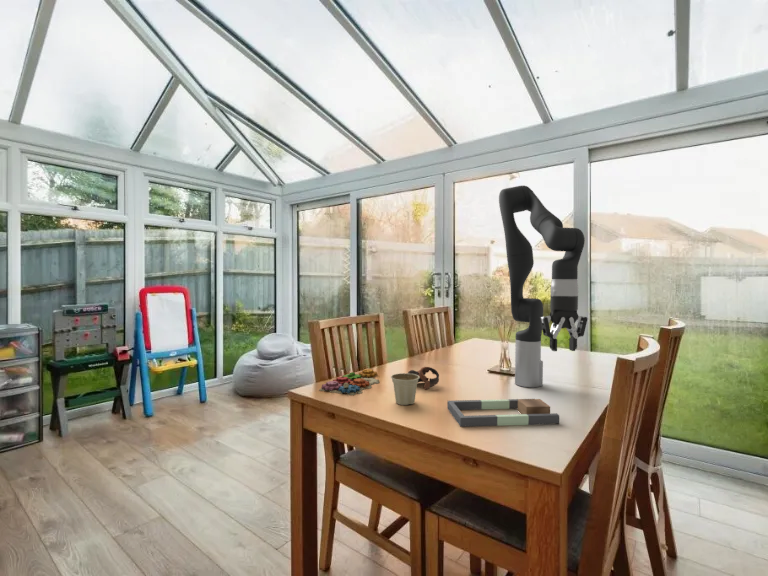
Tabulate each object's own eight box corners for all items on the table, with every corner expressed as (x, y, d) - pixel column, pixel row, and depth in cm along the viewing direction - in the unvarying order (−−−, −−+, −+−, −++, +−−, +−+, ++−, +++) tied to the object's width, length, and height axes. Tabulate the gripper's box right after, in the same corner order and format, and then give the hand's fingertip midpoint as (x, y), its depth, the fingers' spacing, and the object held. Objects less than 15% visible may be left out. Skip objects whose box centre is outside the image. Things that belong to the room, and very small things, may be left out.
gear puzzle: (357, 373, 172) (357, 363, 172) (391, 377, 165) (391, 367, 165) (317, 392, 144) (316, 380, 144) (356, 397, 137) (356, 386, 137)
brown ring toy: (433, 383, 156) (440, 367, 152) (434, 400, 148) (441, 384, 144) (404, 375, 155) (410, 359, 152) (403, 392, 147) (410, 376, 143)
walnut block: (540, 411, 123) (540, 399, 123) (550, 420, 116) (550, 406, 116) (517, 411, 123) (517, 399, 123) (526, 420, 116) (526, 406, 116)
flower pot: (389, 398, 135) (389, 373, 135) (416, 397, 136) (416, 372, 135) (392, 407, 126) (392, 380, 125) (421, 406, 126) (421, 379, 126)
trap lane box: (534, 406, 127) (534, 398, 127) (559, 423, 112) (559, 415, 112) (447, 408, 125) (447, 400, 125) (460, 426, 110) (460, 417, 110)
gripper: (579, 293, 123) (578, 348, 124) (535, 293, 122) (534, 348, 123) (594, 295, 116) (593, 352, 116) (547, 295, 115) (546, 353, 115)
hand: (563, 350), depth 119 cm, fingers open, 5 cm apart
